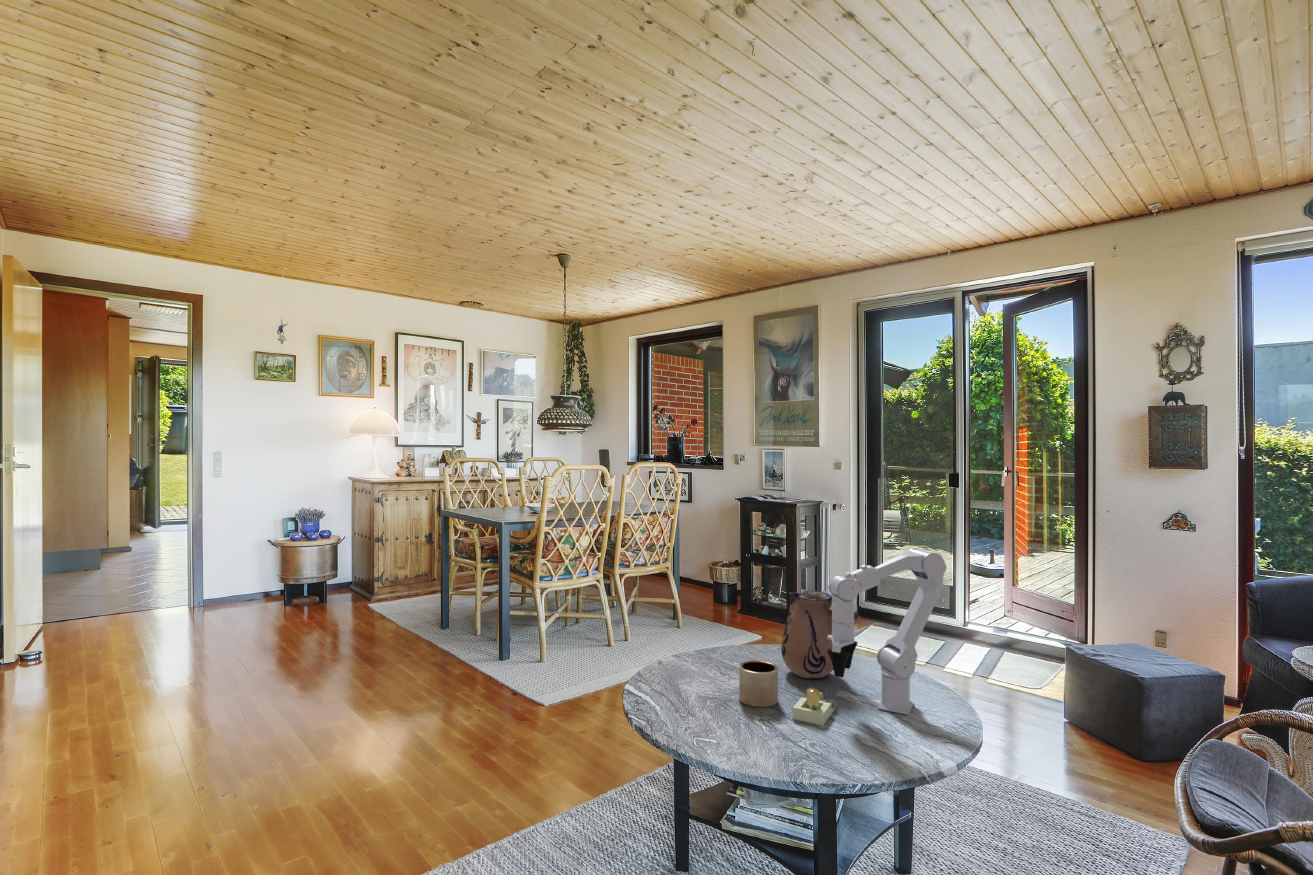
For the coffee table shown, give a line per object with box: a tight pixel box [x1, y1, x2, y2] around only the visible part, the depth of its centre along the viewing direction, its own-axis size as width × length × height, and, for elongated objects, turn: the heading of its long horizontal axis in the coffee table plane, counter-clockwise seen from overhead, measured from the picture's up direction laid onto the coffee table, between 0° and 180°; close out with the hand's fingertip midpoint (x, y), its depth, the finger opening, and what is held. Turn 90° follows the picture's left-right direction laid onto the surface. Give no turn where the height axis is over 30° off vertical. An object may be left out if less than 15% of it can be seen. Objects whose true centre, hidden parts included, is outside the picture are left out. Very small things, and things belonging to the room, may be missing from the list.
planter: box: [738, 659, 779, 709], centre depth 179 cm, size 11×11×10 cm
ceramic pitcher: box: [780, 590, 834, 679], centre depth 200 cm, size 18×21×25 cm
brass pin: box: [806, 687, 820, 711], centre depth 168 cm, size 3×3×7 cm
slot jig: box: [792, 691, 838, 727], centre depth 170 cm, size 14×8×3 cm, turn 151°
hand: (842, 672), depth 172 cm, fingers open, 7 cm apart
